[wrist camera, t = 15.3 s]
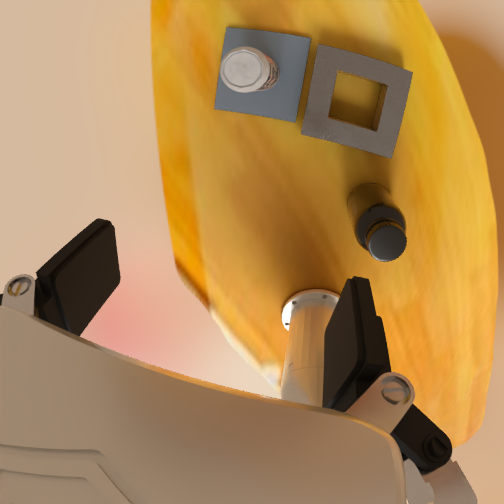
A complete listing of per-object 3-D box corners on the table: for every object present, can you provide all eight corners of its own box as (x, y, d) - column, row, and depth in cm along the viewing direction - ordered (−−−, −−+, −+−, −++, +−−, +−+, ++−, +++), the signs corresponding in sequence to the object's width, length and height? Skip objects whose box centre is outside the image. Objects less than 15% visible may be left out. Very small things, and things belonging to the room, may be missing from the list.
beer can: (278, 92, 35) (266, 94, 25) (241, 89, 35) (215, 91, 25) (281, 58, 32) (270, 46, 22) (244, 55, 33) (218, 44, 22)
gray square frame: (385, 152, 37) (391, 158, 34) (301, 130, 38) (300, 134, 35) (404, 73, 30) (412, 72, 27) (317, 47, 31) (318, 43, 28)
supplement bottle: (369, 232, 44) (384, 279, 33) (337, 205, 42) (345, 247, 32) (400, 201, 40) (425, 242, 30) (368, 171, 39) (387, 204, 29)
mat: (295, 121, 37) (295, 122, 36) (216, 108, 38) (214, 109, 37) (310, 39, 31) (310, 38, 30) (227, 28, 31) (226, 27, 31)
